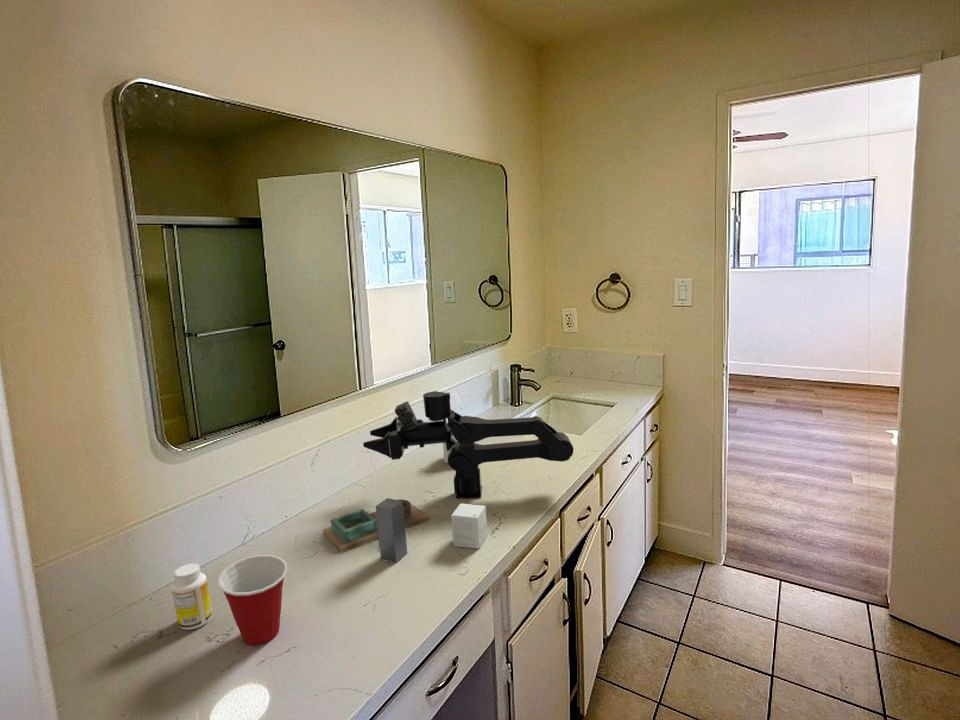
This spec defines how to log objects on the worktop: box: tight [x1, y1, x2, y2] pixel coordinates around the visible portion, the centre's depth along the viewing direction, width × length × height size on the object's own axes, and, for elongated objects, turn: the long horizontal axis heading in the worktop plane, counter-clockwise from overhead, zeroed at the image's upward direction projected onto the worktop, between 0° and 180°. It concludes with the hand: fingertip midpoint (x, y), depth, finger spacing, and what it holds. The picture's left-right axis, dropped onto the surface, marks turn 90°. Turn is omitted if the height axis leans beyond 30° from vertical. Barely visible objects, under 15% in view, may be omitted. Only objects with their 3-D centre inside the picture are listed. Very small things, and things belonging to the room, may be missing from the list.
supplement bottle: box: [171, 563, 213, 631], centre depth 99 cm, size 6×6×10 cm
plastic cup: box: [217, 554, 288, 647], centre depth 94 cm, size 11×11×12 cm
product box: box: [450, 503, 488, 550], centre depth 121 cm, size 6×6×7 cm
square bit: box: [375, 497, 408, 564], centre depth 116 cm, size 4×4×12 cm
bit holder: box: [323, 498, 430, 553], centre depth 131 cm, size 22×11×4 cm, turn 126°
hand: (367, 438), depth 143 cm, fingers open, 9 cm apart
